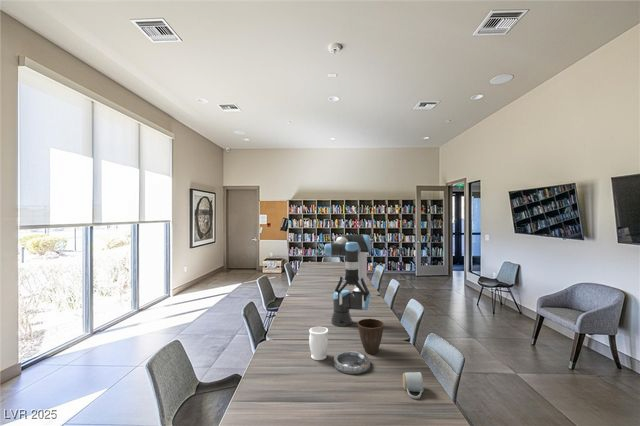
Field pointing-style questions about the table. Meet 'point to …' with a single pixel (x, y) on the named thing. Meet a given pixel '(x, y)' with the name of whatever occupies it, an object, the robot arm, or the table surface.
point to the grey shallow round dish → (351, 362)
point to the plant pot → (370, 334)
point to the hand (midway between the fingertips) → (352, 305)
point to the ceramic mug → (413, 383)
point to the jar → (318, 342)
